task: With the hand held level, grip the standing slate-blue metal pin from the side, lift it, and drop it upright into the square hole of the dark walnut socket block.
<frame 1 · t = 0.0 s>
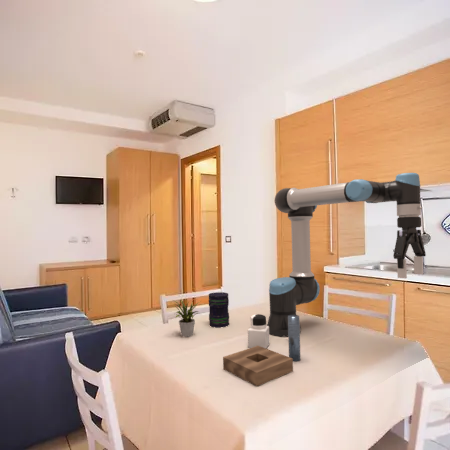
hand: (410, 276, 117), 28 cm above the table, tool pointing down, fingers open, 13 cm apart
storage jar: (219, 325, 160), on the table
pin: (294, 359, 115), on the table
house plant: (184, 335, 145), on the table
medicine bottle: (258, 346, 130), on the table
socket block: (257, 370, 107), on the table
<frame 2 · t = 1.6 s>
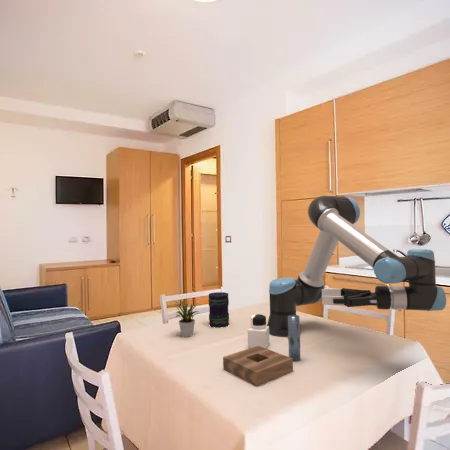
hand: (321, 296, 113), 22 cm above the table, tool horizontal, fingers open, 13 cm apart
nothing on the table moved.
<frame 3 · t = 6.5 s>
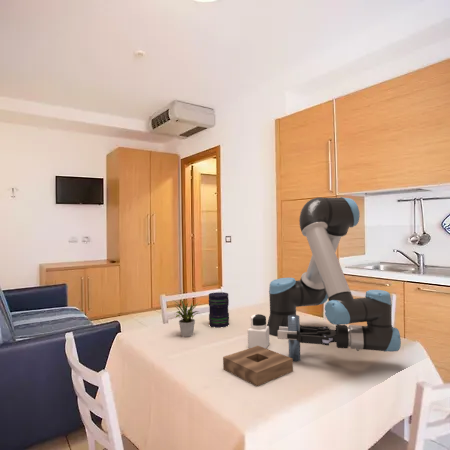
hand: (278, 332, 117), 9 cm above the table, tool horizontal, fingers closed on pin, 4 cm apart
pin: (294, 359, 115), on the table, touching gripper
everything else where it was.
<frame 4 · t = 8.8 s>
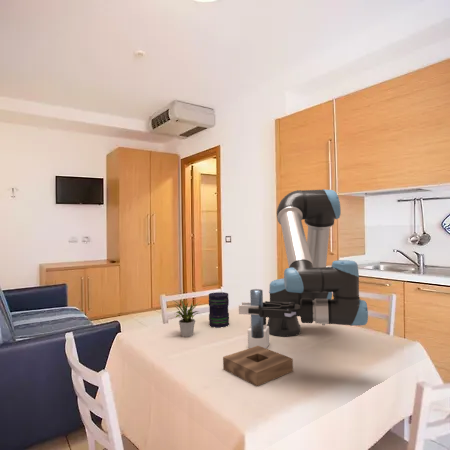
hand: (240, 307, 109), 20 cm above the table, tool horizontal, fingers closed on pin, 4 cm apart
pin: (257, 336, 107), point 11 cm above the table, touching gripper
everything else where it was.
when the fingers open (10 cm above the table, at t = 11.2 s): pin drops 1 cm, resting in socket block.
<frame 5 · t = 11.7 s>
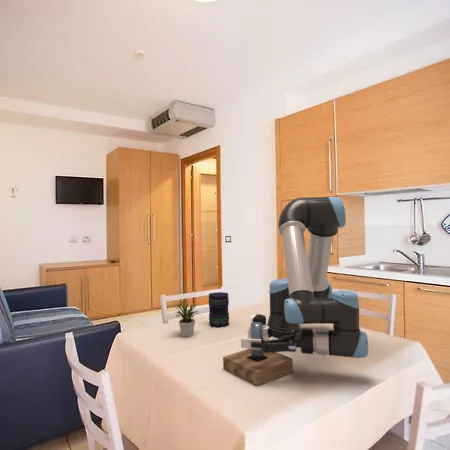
hand: (245, 336, 108), 10 cm above the table, tool horizontal, fingers open, 11 cm apart
pin: (257, 370, 107), resting in socket block
everything else where it was.
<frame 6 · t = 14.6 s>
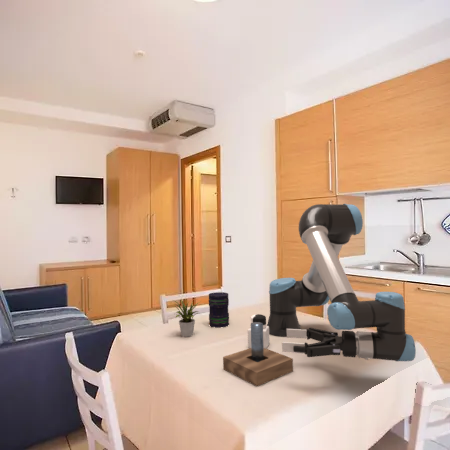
hand: (284, 339, 105), 11 cm above the table, tool horizontal, fingers open, 13 cm apart
nothing on the table moved.
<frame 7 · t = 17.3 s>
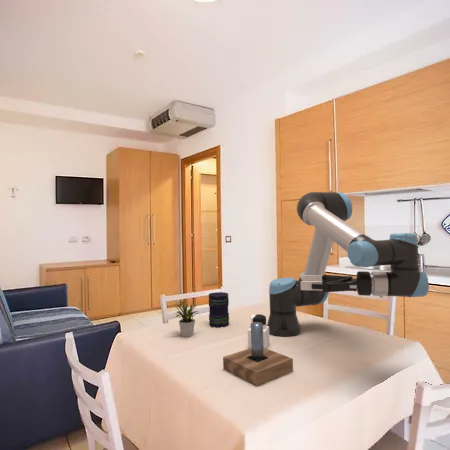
hand: (301, 282, 109), 28 cm above the table, tool horizontal, fingers open, 13 cm apart
nothing on the table moved.
at the end: pin 0.0 cm off-centre on the socket block, point 0.0 cm above the socket block's base; pin tilted 0°; the gripper is holding nothing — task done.
